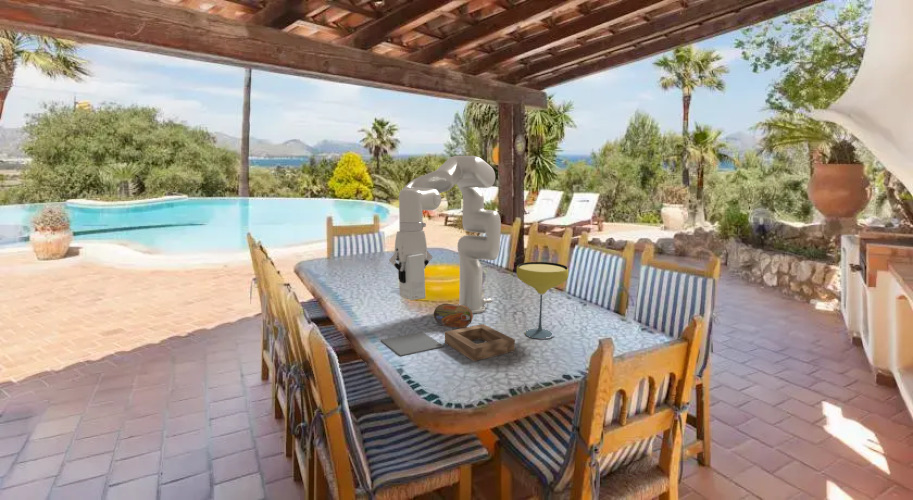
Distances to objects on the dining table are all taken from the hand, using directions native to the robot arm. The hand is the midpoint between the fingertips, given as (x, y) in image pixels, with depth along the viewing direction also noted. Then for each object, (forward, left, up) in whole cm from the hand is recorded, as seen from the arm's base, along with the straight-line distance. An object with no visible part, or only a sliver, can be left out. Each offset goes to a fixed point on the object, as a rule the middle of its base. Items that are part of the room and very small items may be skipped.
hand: (411, 280), depth 158 cm
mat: (0, 0, -22) cm, 22 cm away
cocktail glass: (-44, +15, -22) cm, 52 cm away
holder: (-18, +14, -22) cm, 32 cm away
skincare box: (0, 0, -6) cm, 6 cm away
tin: (-22, -9, -22) cm, 33 cm away
